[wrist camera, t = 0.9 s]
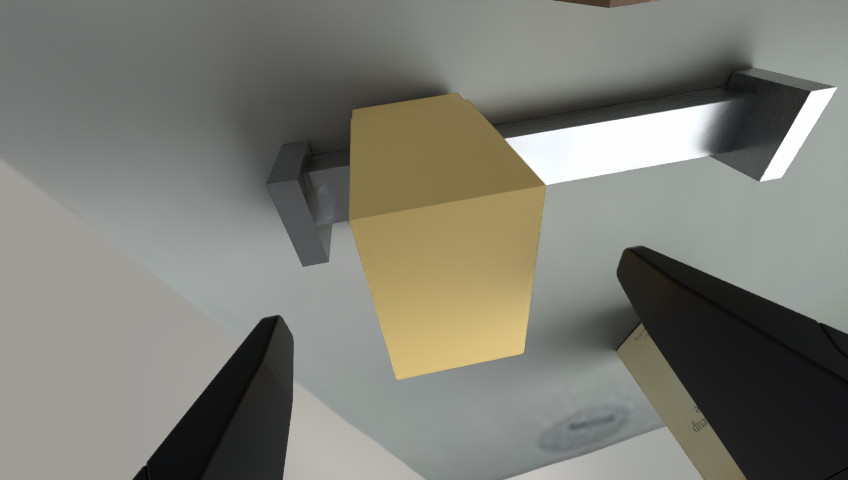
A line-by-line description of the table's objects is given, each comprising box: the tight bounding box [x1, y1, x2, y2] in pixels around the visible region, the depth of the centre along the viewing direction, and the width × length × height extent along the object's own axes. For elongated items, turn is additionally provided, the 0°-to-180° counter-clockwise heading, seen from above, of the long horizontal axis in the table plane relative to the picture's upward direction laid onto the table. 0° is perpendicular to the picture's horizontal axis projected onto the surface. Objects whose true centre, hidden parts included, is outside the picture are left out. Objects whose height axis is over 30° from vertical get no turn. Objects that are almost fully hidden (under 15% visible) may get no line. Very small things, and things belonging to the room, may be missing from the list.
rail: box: [266, 68, 837, 267], centre depth 14 cm, size 20×4×3 cm, turn 96°
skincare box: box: [617, 323, 747, 480], centre depth 22 cm, size 6×4×12 cm
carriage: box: [349, 93, 546, 380], centre depth 12 cm, size 4×6×8 cm, turn 6°
